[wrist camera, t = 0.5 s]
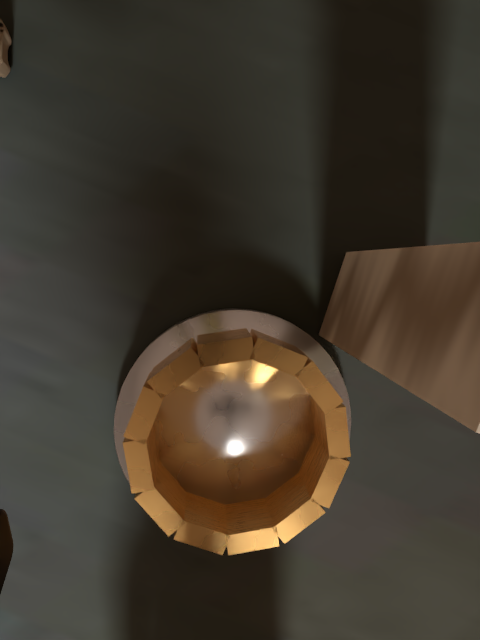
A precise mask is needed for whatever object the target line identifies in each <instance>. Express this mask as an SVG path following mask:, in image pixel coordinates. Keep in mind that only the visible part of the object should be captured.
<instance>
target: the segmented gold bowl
mask: <svg viewBox="0 0 480 640" xmlns="http://www.w3.org/2000/svg"><path fill="white" fill-rule="evenodd" d="M350 430H351V409H350V403H349V397H348V393H347V390H346V387H345V383H344V381H343V378H342V376H341V374H340V372H339V370H338V368H337V366H336V365H335V363H334V362H333V360H332V359H331V357H330V355H329V354H328V353H327V352H326V351H325V350H324V349H323V347H322V346H321V345H320V344H319V343H318V342H317V341H316V340H314V339H313V338H312V337H311V336H310V335H309V334H307V333H306V332H304V331H303V330H301V329H300V328H298V327H297V326H295V325H294V324H292V323H291V322H289V321H287V320H284V319H282V318H280V317H278V316H275V315H272V314H269V313H266V312H263V311H258V310H252V309H242V308H227V309H217V310H212V311H207V312H203V313H200V314H197V315H194V316H191V317H188V318H186V319H184V320H182V321H180V322H178V323H176V324H174V325H173V326H171V327H170V328H168V329H167V330H166V331H164V332H163V333H161V334H160V335H159V336H158V337H157V338H156V339H154V340H153V341H152V342H151V343H150V344H149V345H148V346H147V348H146V349H145V350H144V351H143V352H142V353H141V355H140V356H139V357H138V359H137V360H136V362H135V363H134V365H133V367H132V368H131V370H130V371H129V373H128V375H127V377H126V379H125V381H124V383H123V385H122V388H121V391H120V394H119V397H118V400H117V405H116V411H115V416H114V438H115V447H116V451H117V455H118V459H119V463H120V465H121V467H122V470H123V472H124V475H125V477H126V479H127V480H128V482H129V484H130V486H131V492H132V493H136V495H135V498H134V499H135V500H136V501H137V502H138V503H139V504H140V506H141V507H142V508H143V509H144V510H145V511H146V512H147V513H148V514H149V515H150V517H151V518H152V519H153V520H154V521H155V522H156V523H157V524H158V525H159V526H160V528H161V529H162V530H163V531H164V532H165V533H166V534H167V535H168V536H170V535H171V534H173V533H174V539H173V540H176V541H179V542H183V543H186V544H189V545H192V546H195V547H198V548H201V549H205V550H208V551H211V552H214V553H217V554H220V555H223V553H224V551H225V548H226V546H227V550H228V556H229V555H234V554H240V553H245V552H251V551H256V550H262V549H267V548H272V547H278V546H279V540H278V537H279V538H280V539H281V540H282V541H283V543H284V544H285V543H286V542H288V541H289V540H290V539H292V538H293V537H294V536H296V535H297V534H298V533H299V532H301V531H302V530H303V529H305V528H306V527H307V526H309V525H310V524H311V523H312V522H314V521H315V520H316V519H318V518H319V517H320V516H322V515H323V514H324V513H325V511H324V509H323V507H322V506H324V507H327V508H329V507H330V505H331V503H332V500H333V498H334V496H335V494H336V491H337V489H338V487H339V485H340V483H341V480H342V478H343V476H344V474H345V472H346V469H347V467H348V465H349V463H350V462H349V460H348V459H347V458H346V457H351V454H350V444H349V439H350Z"/></svg>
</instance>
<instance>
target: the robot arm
mask: <svg viewBox="0 0 480 640" xmlns="http://www.w3.org/2000/svg"><path fill="white" fill-rule="evenodd" d="M12 553H13V539H12V535H11V530H10V526H9V521H8V517H7V514H6V512H5V511H4V510H3V509H0V594H1V590H2V587H3V584H4V581H5V577H6V574H7V571H8V568H9V565H10V561H11V558H12Z"/></svg>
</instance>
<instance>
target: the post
mask: <svg viewBox="0 0 480 640" xmlns="http://www.w3.org/2000/svg"><path fill="white" fill-rule="evenodd" d="M319 336H321V337H323V338H324V339H326V340H327V341H329V342H331V343H332V344H334V345H336V346H337V347H339V348H340V349H342V350H344V351H345V352H347V353H348V354H350V355H352V356H353V357H355V358H357V359H358V360H360V361H361V362H363V363H365V364H366V365H368V366H369V367H371V368H373V369H374V370H376V371H378V372H379V373H381V374H382V375H384V376H386V377H387V378H389V379H390V380H392V381H394V382H395V383H397V384H399V385H400V386H402V387H403V388H405V389H407V390H408V391H410V392H412V393H413V394H415V395H416V396H418V397H420V398H421V399H423V400H424V401H426V402H428V403H429V404H431V405H433V406H434V407H436V408H437V409H439V410H441V411H442V412H444V413H445V414H447V415H449V416H450V417H452V418H454V419H455V420H457V421H458V422H460V423H462V424H463V425H465V426H466V427H468V428H470V429H471V430H473V431H475V432H476V433H480V242H472V243H459V244H446V245H432V246H419V247H406V248H393V249H380V250H367V251H354V252H346V255H345V258H344V261H343V264H342V266H341V269H340V272H339V275H338V278H337V281H336V284H335V287H334V290H333V293H332V296H331V299H330V302H329V305H328V308H327V311H326V314H325V317H324V320H323V323H322V326H321V329H320V332H319Z"/></svg>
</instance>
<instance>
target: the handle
mask: <svg viewBox="0 0 480 640" xmlns="http://www.w3.org/2000/svg"><path fill="white" fill-rule="evenodd" d="M11 42H12V41H11V37H10V35H9V32H8V30H7V28H6V26H5V25H4V23H3V22H2V20H1V19H0V77H3V78H5V77H6V76H7V75H8V74H9V72H10V70H11V69H10V66H9V63H8V49H9V46H10V45H11Z"/></svg>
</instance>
